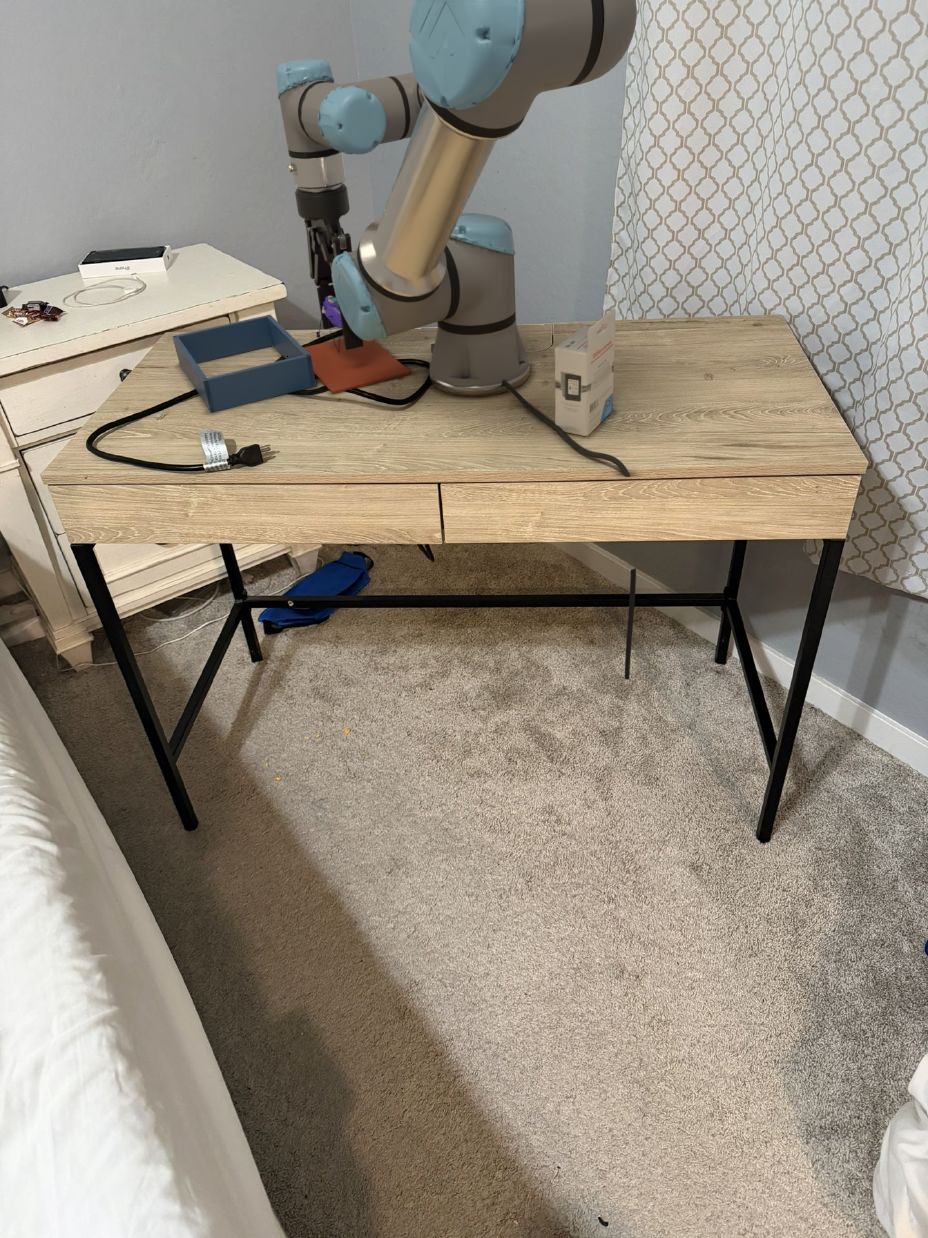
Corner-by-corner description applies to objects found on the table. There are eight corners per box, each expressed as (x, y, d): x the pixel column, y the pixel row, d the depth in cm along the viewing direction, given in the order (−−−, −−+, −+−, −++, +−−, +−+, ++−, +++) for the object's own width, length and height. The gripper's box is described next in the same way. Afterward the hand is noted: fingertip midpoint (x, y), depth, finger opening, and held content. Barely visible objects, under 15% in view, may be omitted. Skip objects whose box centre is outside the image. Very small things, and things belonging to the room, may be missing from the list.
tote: (316, 386, 142) (310, 355, 139) (210, 412, 137) (202, 380, 134) (276, 343, 158) (270, 314, 154) (180, 365, 152) (172, 335, 149)
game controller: (395, 310, 144) (346, 316, 137) (383, 357, 149) (335, 364, 142) (356, 279, 148) (306, 283, 141) (345, 326, 153) (297, 332, 146)
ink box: (581, 405, 130) (583, 301, 121) (613, 411, 128) (617, 306, 119) (553, 430, 125) (553, 323, 116) (586, 437, 122) (588, 329, 113)
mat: (411, 373, 143) (410, 371, 143) (332, 393, 139) (332, 391, 139) (365, 335, 158) (364, 332, 157) (292, 352, 154) (292, 349, 153)
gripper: (272, 175, 139) (298, 320, 153) (321, 205, 123) (344, 365, 136) (319, 167, 141) (340, 311, 155) (373, 196, 125) (391, 354, 139)
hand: (342, 336), depth 146 cm, fingers closed on game controller, 10 cm apart
